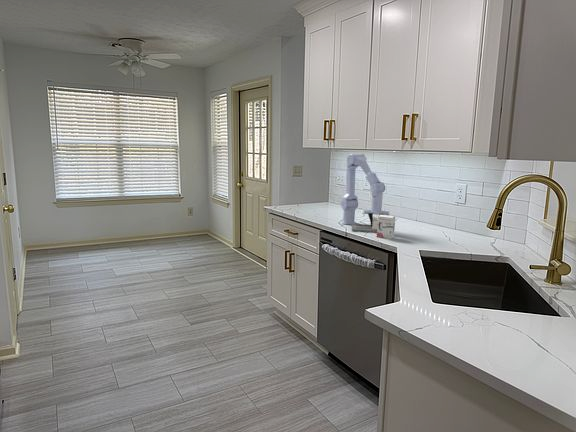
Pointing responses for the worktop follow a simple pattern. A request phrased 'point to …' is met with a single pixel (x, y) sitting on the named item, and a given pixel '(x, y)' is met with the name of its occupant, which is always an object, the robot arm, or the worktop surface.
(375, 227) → the near fader knob
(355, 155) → the robot arm
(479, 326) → the worktop surface
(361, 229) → the console
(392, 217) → the ink box
